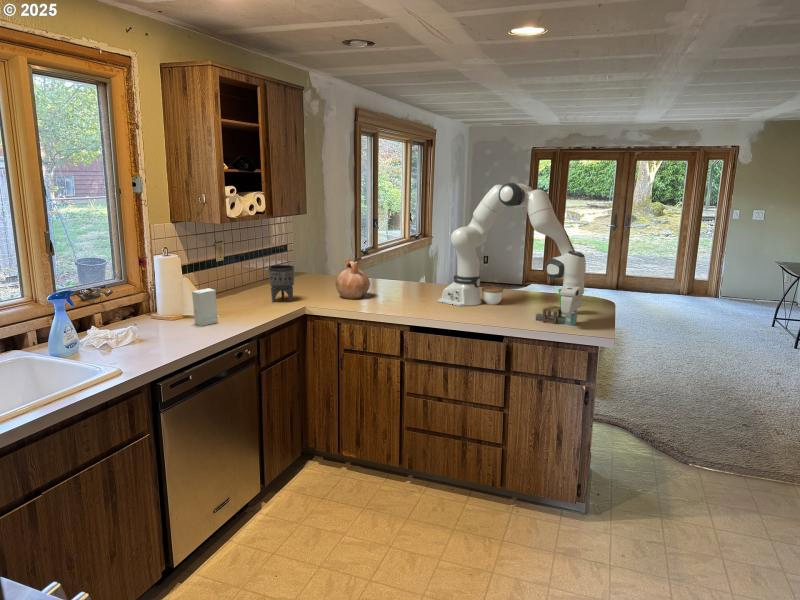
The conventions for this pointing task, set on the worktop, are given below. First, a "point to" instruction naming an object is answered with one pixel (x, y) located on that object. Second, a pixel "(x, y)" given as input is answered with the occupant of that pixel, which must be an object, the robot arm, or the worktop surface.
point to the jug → (352, 281)
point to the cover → (549, 309)
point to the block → (574, 319)
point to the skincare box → (205, 306)
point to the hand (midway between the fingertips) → (571, 320)
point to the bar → (559, 318)
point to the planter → (281, 280)
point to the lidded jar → (492, 295)
